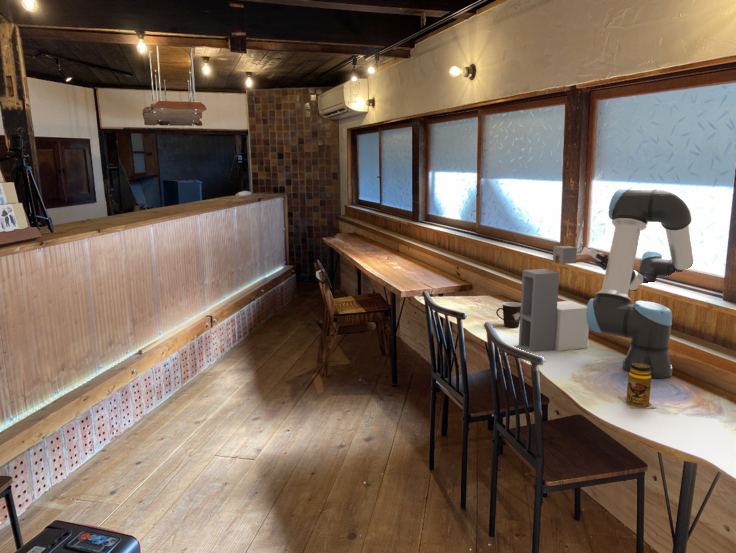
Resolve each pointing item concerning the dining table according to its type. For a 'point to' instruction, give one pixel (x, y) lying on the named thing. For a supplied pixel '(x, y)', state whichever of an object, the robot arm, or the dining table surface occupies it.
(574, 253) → the grey mallet
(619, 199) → the robot arm
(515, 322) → the coffee mug
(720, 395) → the dining table surface
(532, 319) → the stand
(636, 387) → the condiment
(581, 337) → the block
